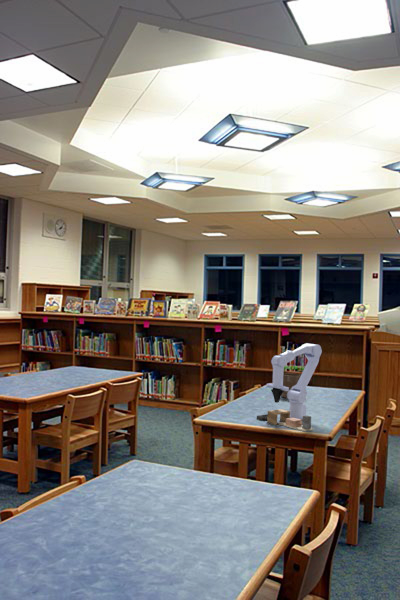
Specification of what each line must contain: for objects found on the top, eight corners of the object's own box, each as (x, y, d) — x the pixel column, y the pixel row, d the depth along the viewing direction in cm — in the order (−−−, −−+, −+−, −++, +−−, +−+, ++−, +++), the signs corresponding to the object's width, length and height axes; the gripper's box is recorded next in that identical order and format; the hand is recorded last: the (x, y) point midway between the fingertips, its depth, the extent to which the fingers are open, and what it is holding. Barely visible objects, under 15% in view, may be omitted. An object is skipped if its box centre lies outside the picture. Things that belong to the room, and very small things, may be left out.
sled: (287, 422, 280) (287, 409, 280) (313, 429, 266) (313, 416, 266) (278, 424, 275) (278, 411, 275) (304, 431, 262) (304, 417, 262)
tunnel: (281, 420, 286) (281, 409, 286) (289, 422, 281) (290, 411, 281) (267, 422, 278) (267, 410, 278) (275, 424, 274) (276, 413, 274)
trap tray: (267, 417, 292) (268, 414, 292) (274, 419, 288) (274, 415, 288) (256, 418, 286) (256, 415, 286) (263, 420, 282) (263, 417, 282)
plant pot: (277, 394, 374) (278, 372, 374) (300, 396, 372) (301, 373, 372) (278, 398, 358) (279, 375, 358) (301, 400, 355) (303, 376, 356)
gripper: (263, 376, 288) (262, 400, 288) (283, 379, 277) (281, 405, 277) (272, 375, 293) (270, 399, 293) (291, 379, 282) (290, 404, 282)
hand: (276, 402), depth 285 cm, fingers closed
